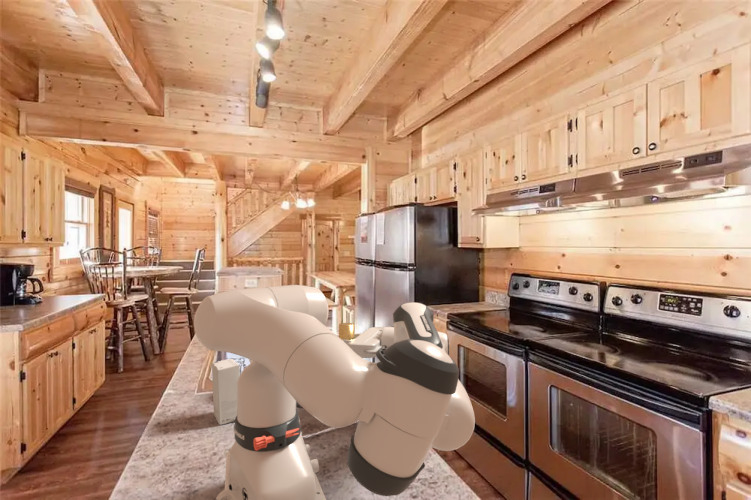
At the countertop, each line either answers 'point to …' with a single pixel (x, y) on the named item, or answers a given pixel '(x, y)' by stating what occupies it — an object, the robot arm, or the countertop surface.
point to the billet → (346, 331)
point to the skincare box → (225, 390)
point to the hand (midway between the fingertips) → (343, 339)
